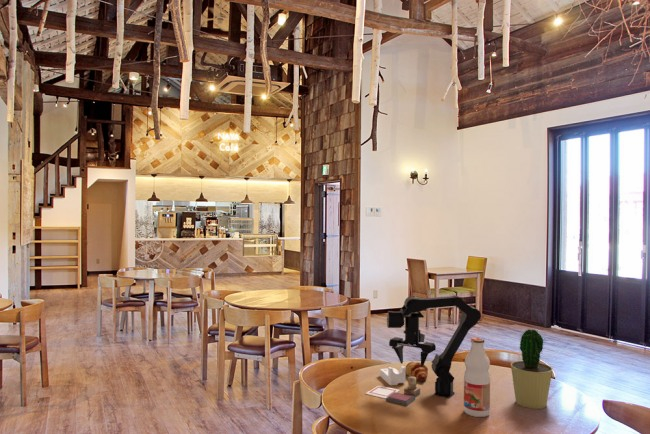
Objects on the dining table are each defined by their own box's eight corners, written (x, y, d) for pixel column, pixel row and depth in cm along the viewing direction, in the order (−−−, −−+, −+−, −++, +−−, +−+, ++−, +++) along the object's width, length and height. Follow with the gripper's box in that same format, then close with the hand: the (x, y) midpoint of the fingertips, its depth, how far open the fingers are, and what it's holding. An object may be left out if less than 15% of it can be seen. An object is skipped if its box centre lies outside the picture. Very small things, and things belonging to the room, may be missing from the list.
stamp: (420, 394, 209) (420, 377, 209) (415, 397, 205) (415, 380, 204) (409, 391, 211) (409, 375, 211) (404, 395, 207) (404, 378, 207)
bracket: (405, 384, 221) (405, 367, 221) (390, 385, 219) (390, 368, 219) (394, 375, 233) (394, 359, 233) (379, 376, 231) (379, 360, 231)
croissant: (403, 376, 242) (396, 361, 242) (421, 365, 244) (414, 351, 243) (418, 390, 221) (410, 374, 221) (437, 379, 223) (429, 363, 222)
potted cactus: (527, 412, 190) (528, 333, 190) (502, 398, 205) (503, 324, 204) (561, 408, 194) (562, 331, 194) (534, 395, 209) (535, 323, 209)
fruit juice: (494, 417, 185) (494, 341, 185) (469, 418, 184) (470, 342, 184) (483, 407, 194) (484, 335, 194) (460, 408, 193) (460, 335, 193)
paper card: (399, 390, 212) (399, 389, 212) (387, 399, 202) (387, 398, 202) (378, 386, 218) (378, 385, 218) (365, 394, 208) (365, 393, 208)
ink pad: (415, 399, 202) (415, 395, 202) (406, 405, 195) (406, 402, 195) (394, 395, 207) (394, 391, 207) (386, 400, 200) (386, 397, 200)
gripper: (440, 327, 210) (440, 364, 210) (400, 321, 220) (400, 357, 220) (430, 332, 200) (430, 371, 201) (388, 326, 211) (388, 363, 211)
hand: (411, 365), depth 208 cm, fingers open, 9 cm apart
